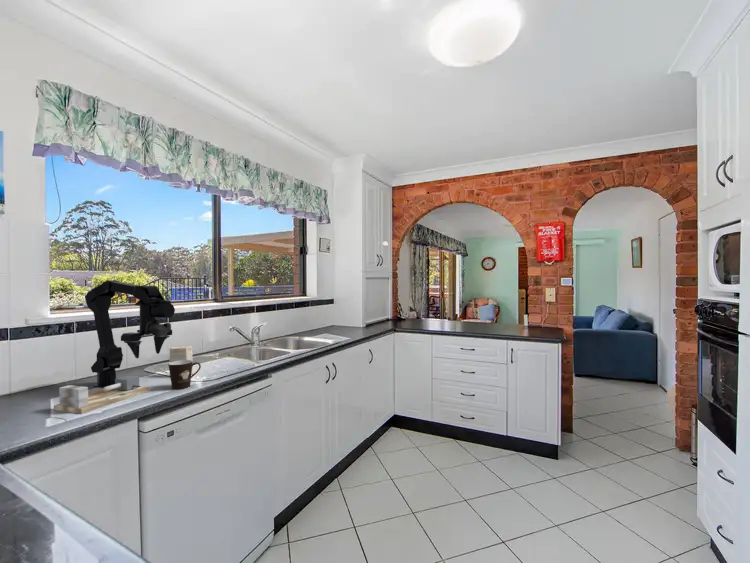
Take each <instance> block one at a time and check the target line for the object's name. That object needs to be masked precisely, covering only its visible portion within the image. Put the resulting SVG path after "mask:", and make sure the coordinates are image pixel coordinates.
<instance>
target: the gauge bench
mask: <svg viewBox="0 0 750 563" xmlns="http://www.w3.org/2000/svg"><path fill="white" fill-rule="evenodd" d="M139 386H140V387H137V388H134V389H130V390H116V389H112V390H109V391H104V388H102V389H99V390H97V391H93V392H89V387H88V386H80V385H72V384H71V385H70V384H69V385H68V384H67V385H65V386H60V387H59V388H58V391H59V393H58V394H59V396H58V397H59V398H58V399H59V404H55V405H53V410H54V411H60V412H66V413H73V414H74V413H76V414H86V413H87V412H90V411H94V410H96V409H99V408H100V409H101V408H103V407H105V406H109V405H112V404H115V403H117V402H120V401H123V400H127V399H130V398H132V397H136V396H138V395H142V394H145V393H147V392H150V389H151V388H150V386H141V385H139Z"/></svg>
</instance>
